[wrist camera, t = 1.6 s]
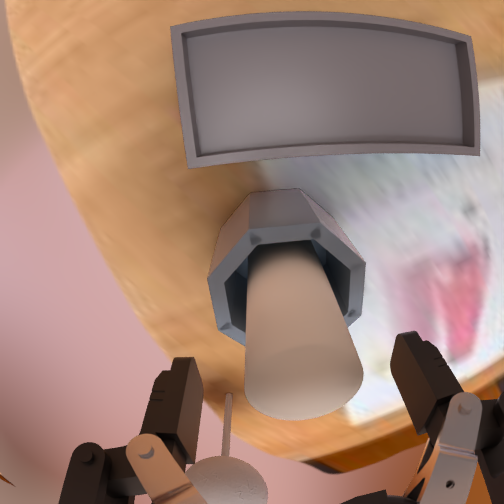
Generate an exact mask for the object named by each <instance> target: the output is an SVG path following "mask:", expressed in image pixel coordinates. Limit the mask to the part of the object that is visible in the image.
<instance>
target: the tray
mask: <svg viewBox="0 0 504 504" xmlns="http://www.w3.org/2000/svg"><path fill="white" fill-rule="evenodd" d="M170 29H171V40H172V50H173V59H174V68H175V77H176V86H177V94H178V102H179V109H180V117H181V124H182V132H183V139H184V145H185V152H186V159H187V165H188V169H192V168H198V167H206V166H213V165H221V164H229V163H237V162H246V161H255V160H265V159H276V158H288V157H302V156H317V155H336V154H364V153H428V154H454V155H472V156H480V109H479V93H478V82H477V73H476V64H475V57H474V51H473V44H472V39H471V36H468V35H465V34H461V33H458V32H454V31H451V30H447V29H443V28H439V27H435V26H431V25H426V24H422V23H417V22H412V21H406V20H401V19H395V18H388V17H381V16H373V15H364V14H353V13H340V12H312V11H296V12H269V13H255V14H244V15H235V16H227V17H219V18H213V19H206V20H200V21H195V22H190V23H185V24H180V25H175V26H171V27H170Z"/></svg>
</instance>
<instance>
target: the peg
mask: <svg viewBox="0 0 504 504" xmlns="http://www.w3.org/2000/svg"><path fill="white" fill-rule="evenodd" d="M362 381H363V368H362V364H361V362H360V359H359V356H358V354H357V351H356V348H355V346H354V343H353V341H352V338H351V335H350V333H349V330H348V328H347V325H346V323H345V320H344V318H343V315H342V313H341V310H340V308H339V305H338V303H337V300H336V298H335V295H334V293H333V291H332V288H331V286H330V283H329V281H328V279H327V276H326V274H325V272H324V269H323V267H322V265H321V262H320V260H319V258H318V255H317V253H316V251H315V248H314V246H313V244H312V242H311V239H310V240H300V241H290V242H279V243H269V244H259V245H257V246H256V247H255V248H254V249H253V251H252V252H251V253H250V254H249V255H248V275H247V309H246V345H245V382H244V390H245V395H246V398H247V400H248V402H249V403H250V404H251V406H252V407H254V408H255V409H256V410H257V411H259V412H260V413H262V414H264V415H267V416H269V417H273V418H276V419H282V420H306V419H312V418H316V417H320V416H323V415H326V414H328V413H331V412H333V411H335V410H337V409H338V408H340V407H342V406H343V405H345V404H346V403H347V402H348V401H349V400H351V399H352V398H353V396H354V395H355V394H356V393H357V391H358V390H359V388H360V386H361V384H362Z"/></svg>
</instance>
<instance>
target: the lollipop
mask: <svg viewBox="0 0 504 504" xmlns="http://www.w3.org/2000/svg"><path fill="white" fill-rule="evenodd" d="M232 397H233V395H232V394H231V393H227V394H226V401H225V414H224V427H223V440H222V441H223V442H222V454H221V456H215V457H210V458H206V459H203V460H200V461H198V462H197V463H195V464H193V465H192V466H191V467H190V468H189V469H188V470H187V471H186V472H185V475H186V476H187V477H188V479H189V480H190V481H191V483H192V484H193V485H194V487H195V488H196V489H197V491H198V492H199V493H200V494H201V496H202V497H203V498H204V499H205V501H206V502H207V503H208V504H267V499H268V491H267V486H266V483H265V482H264V480H263V478H262V476H261V475H260V474H259V472H258V471H257V470H256V469H255V468H253V467H252V466H251V465H250V464H248V463H246V462H244V461H242V460H240V459H237V458H233V457H229V449H230V432H231V414H232Z"/></svg>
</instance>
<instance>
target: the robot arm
mask: <svg viewBox="0 0 504 504" xmlns="http://www.w3.org/2000/svg"><path fill="white" fill-rule="evenodd" d="M390 368H391V373H392V376H393V378H394V380H395V383H396V385H397V387H398V389H399V392H400V394H401V396H402V398H403V401H404V403H405V405H406V408H407V410H408V413H409V415H410V417H411V420H412V422H413V425H414V427H415V429H416V432H417V434H418V435H421V434H424V433H428V436H429V439H428V440H427V443H426V446H425V449H424V451H423V454H422V457H421V460H420V462H419V465H418V467H417V469H416V472H415V474H414V476H413V479H412V481H411V482H410V484H409V486H408V487H407V489H406V491H405V493H404V495H403V496H394V495H387V493H386V490H382V491H378V492H374V493H370V494H366V495H362V496H357V497H355V498H353V499H350V500H348V501H346V502H343V503H341V504H465V503H466V500H467V497H468V494H469V491H470V487H471V484H472V480H473V476H474V473H475V469H476V465H477V461H478V463H479V465H480V469H481V471H482V474H483V477H484V479H485V483H486V486H487V489H488V492H489V495H490V499H491V502H492V504H504V392H502V394H501V395H500V397H499V398H498V399H494V400H479V398H478V397H477V396H475V395H474V394H472V393H468V392H464V391H463V389H462V388H461V386H460V384H459V382H458V381H457V379H456V377H455V376H454V374H453V373H452V371H451V369H450V368H449V366H448V365H447V363H446V361H445V360H444V358H442V355H441V353H440V352H439V350H438V349H437V347H435V346H434V345H433V344H431V343H430V342H429V341H422V339H421V338H420V336H419V334H418V333H417V332H416V331H411V332H406V333H401V334H398V335H397V336H396V340H395V344H394V349H393V353H392V357H391V361H390ZM202 403H203V384H202V380H201V377H200V374H199V371H198V368H197V365H196V361H195V359H194V357H175V358H174V359H173V362H172V366H171V370H169V371H162V372H161V373H160V374H159V376H158V377H157V378H156V379H155V382H154V385H153V388H152V393H151V395H150V401H149V403H148V406H147V409H146V413H145V417H144V421H143V424H142V428H141V431H140V434H139V435H138V436H136V437H134V438H133V439H132V440H131V441H130V442H129V443H128V445H126V446H123V447H118V448H112V449H105V450H103V449H102V448H101V447H100V446H99V445H98V444H96V443H92V442H87V443H83V444H81V445H79V446H78V447H77V448H76V449H75V450H74V452H73V453H72V457H71V460H70V463H69V467H68V470H67V473H66V477H65V481H64V484H63V488H62V492H61V496H60V500H59V504H134V500H135V495H142V494H148V495H149V497H150V498H151V501H152V503H151V504H208V503H207V502H206V501H205V499H204V498H203V497H202V496H201V494H200V493H199V492H198V491H197V489H196V488H195V487H194V485H193V484H192V483H191V481H190V480H189V479H188V477H187V476H186V475H185V468H186V464H195V458H196V449H197V441H198V433H199V426H200V418H201V410H202ZM474 452H475V454H474Z"/></svg>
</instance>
